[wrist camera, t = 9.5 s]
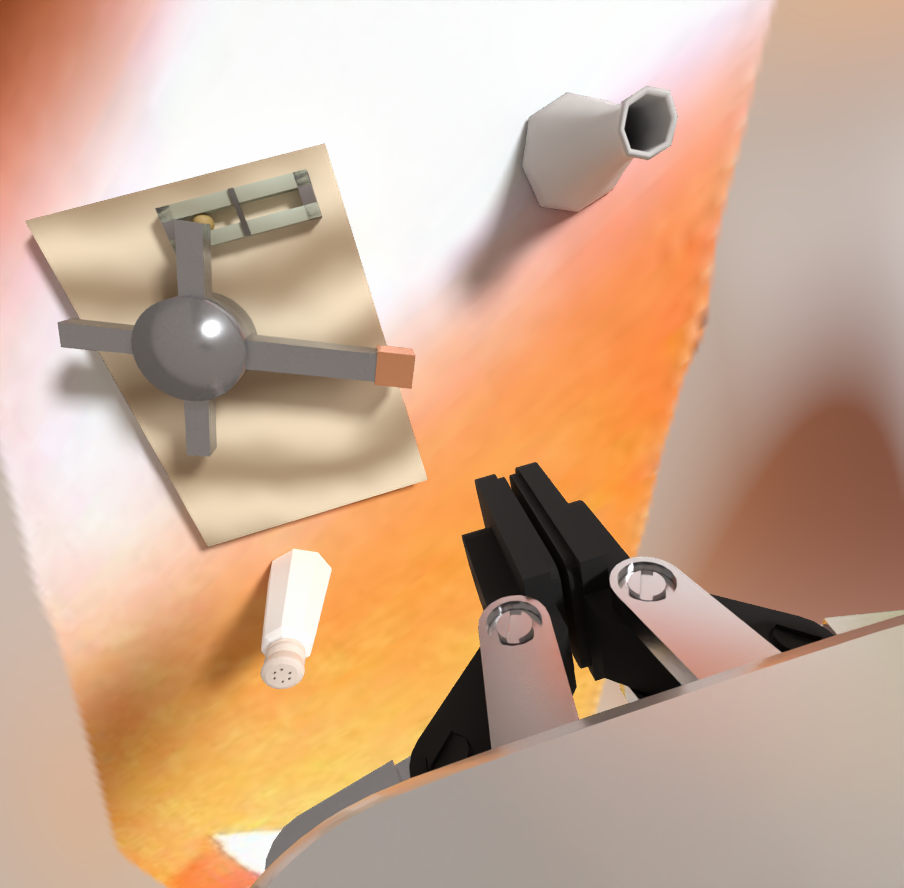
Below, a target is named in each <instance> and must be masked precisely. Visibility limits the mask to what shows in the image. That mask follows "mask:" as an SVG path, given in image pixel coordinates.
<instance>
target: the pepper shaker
mask: <svg viewBox="0 0 904 888" xmlns="http://www.w3.org/2000/svg"><path fill="white" fill-rule="evenodd" d="M331 570H332V569H331V567H330V566H329V565H328V564H327V563H326V561H325V560H324V559H323V558H322V557H321V555H320V554H319V553H318V552H312V551H305V550H298V549H292V550H291V551H289V552H287V553H285V554H283V555H282V556H280V557H278V558H276V559H275V560H273V561H272V565H271V570H270V575H269V580H268V588H267V598H266V607H265V616H264V625H263V635H262V644H261V652H262V653H263V654H264V655H265V660H264V665H263V666H262V669H261V678H262V679H263V681H264V682H265V683H266V684H267V685H268V686H270V687H273V688H276V689H285V688H290V687H292V686H294V685H296V684H297V683H299V682H300V681H301V680H302V678H303V676H304V672H305V669H304V664H305V658H307V657H309V656H310V654H311V650H312V647H313V643H314V639H315V635H316V631H317V627H318V623H319V619H320V615H321V610H322V606H323V602H324V598H325V594H326V590H327V586H328V582H329V578H330V574H331Z"/></svg>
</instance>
